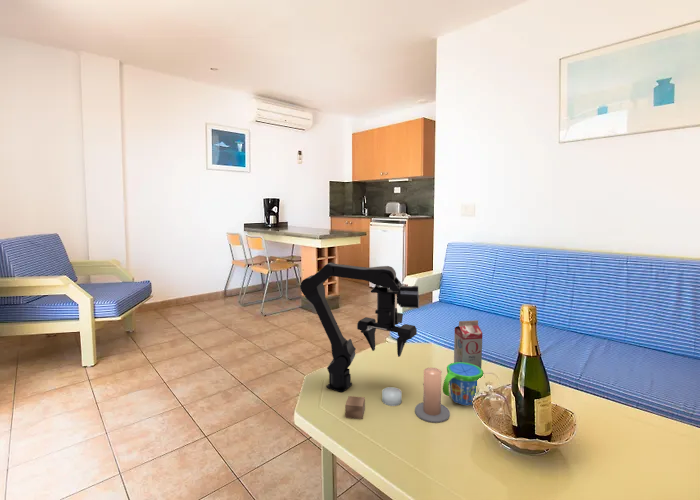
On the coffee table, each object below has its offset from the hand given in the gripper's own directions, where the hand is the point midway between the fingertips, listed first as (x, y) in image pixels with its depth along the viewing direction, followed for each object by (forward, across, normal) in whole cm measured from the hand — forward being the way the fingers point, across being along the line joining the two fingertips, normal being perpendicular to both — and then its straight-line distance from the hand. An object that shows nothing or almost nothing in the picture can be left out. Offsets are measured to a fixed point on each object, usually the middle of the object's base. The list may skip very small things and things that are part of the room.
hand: (386, 353), depth 116 cm
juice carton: (+13, -21, -19) cm, 31 cm away
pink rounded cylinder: (+12, -17, +4) cm, 21 cm away
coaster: (+13, -17, +4) cm, 22 cm away
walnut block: (+13, +2, +16) cm, 21 cm away
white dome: (+13, -4, +4) cm, 14 cm away
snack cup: (+13, -23, -8) cm, 28 cm away
